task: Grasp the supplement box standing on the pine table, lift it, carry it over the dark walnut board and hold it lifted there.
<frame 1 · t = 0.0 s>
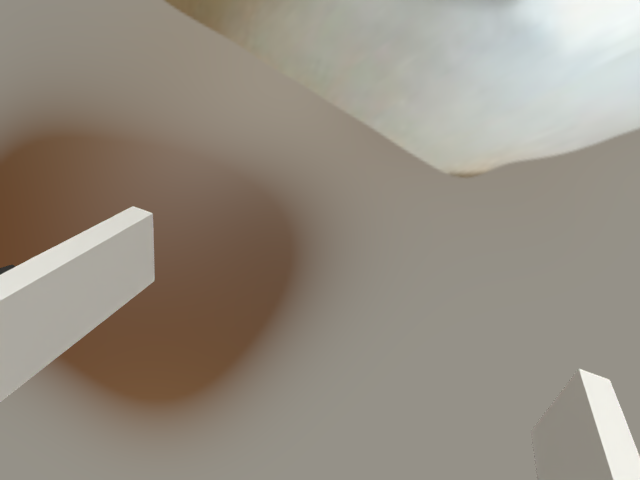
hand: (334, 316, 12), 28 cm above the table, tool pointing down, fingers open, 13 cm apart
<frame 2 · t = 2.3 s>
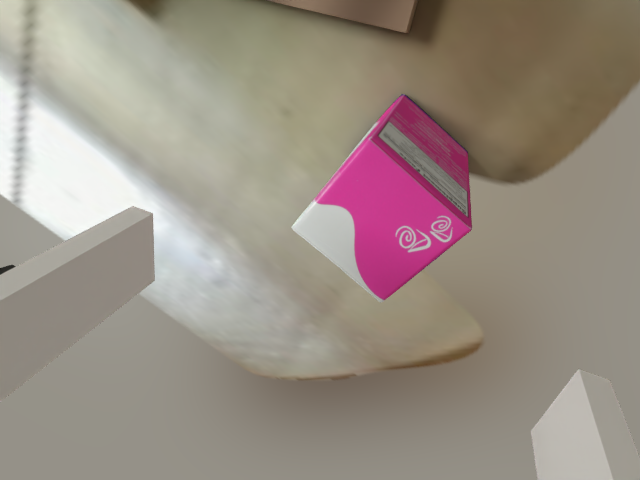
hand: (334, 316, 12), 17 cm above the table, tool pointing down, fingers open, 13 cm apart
supplement box: (407, 154, 27), on the table
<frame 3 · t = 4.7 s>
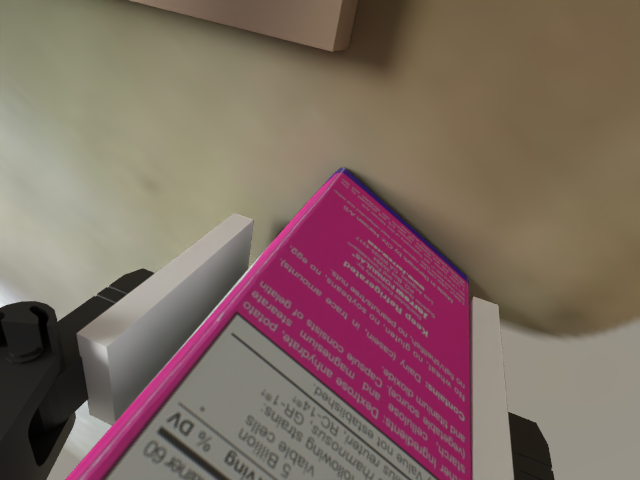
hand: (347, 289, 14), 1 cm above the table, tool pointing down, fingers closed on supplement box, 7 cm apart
supplement box: (358, 268, 15), on the table, touching gripper
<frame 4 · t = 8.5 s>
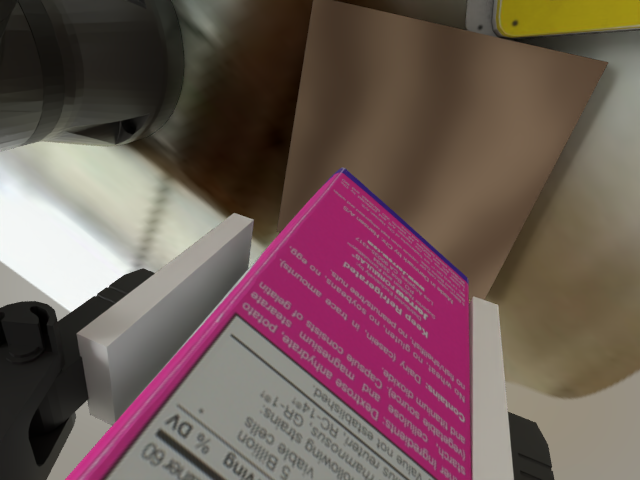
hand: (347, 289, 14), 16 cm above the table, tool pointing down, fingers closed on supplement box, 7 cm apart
walnut board: (409, 158, 27), on the table
supplement box: (357, 269, 15), point 15 cm above the table, touching gripper
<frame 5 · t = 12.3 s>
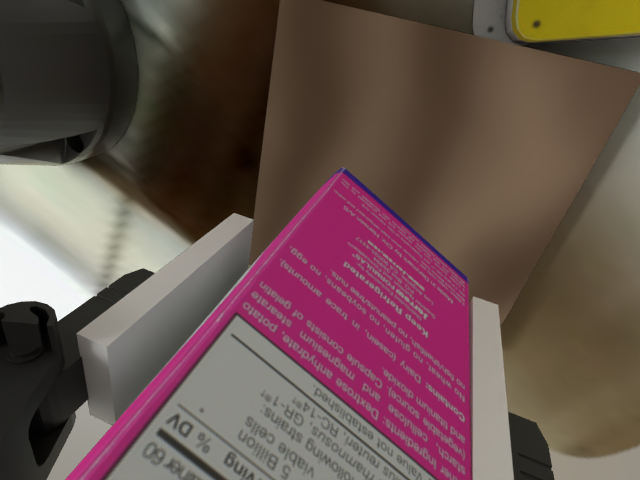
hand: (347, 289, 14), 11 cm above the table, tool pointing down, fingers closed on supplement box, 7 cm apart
walnut board: (399, 184, 23), on the table
supplement box: (357, 268, 15), point 10 cm above the table, touching gripper
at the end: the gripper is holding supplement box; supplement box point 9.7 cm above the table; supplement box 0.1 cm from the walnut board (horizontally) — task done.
